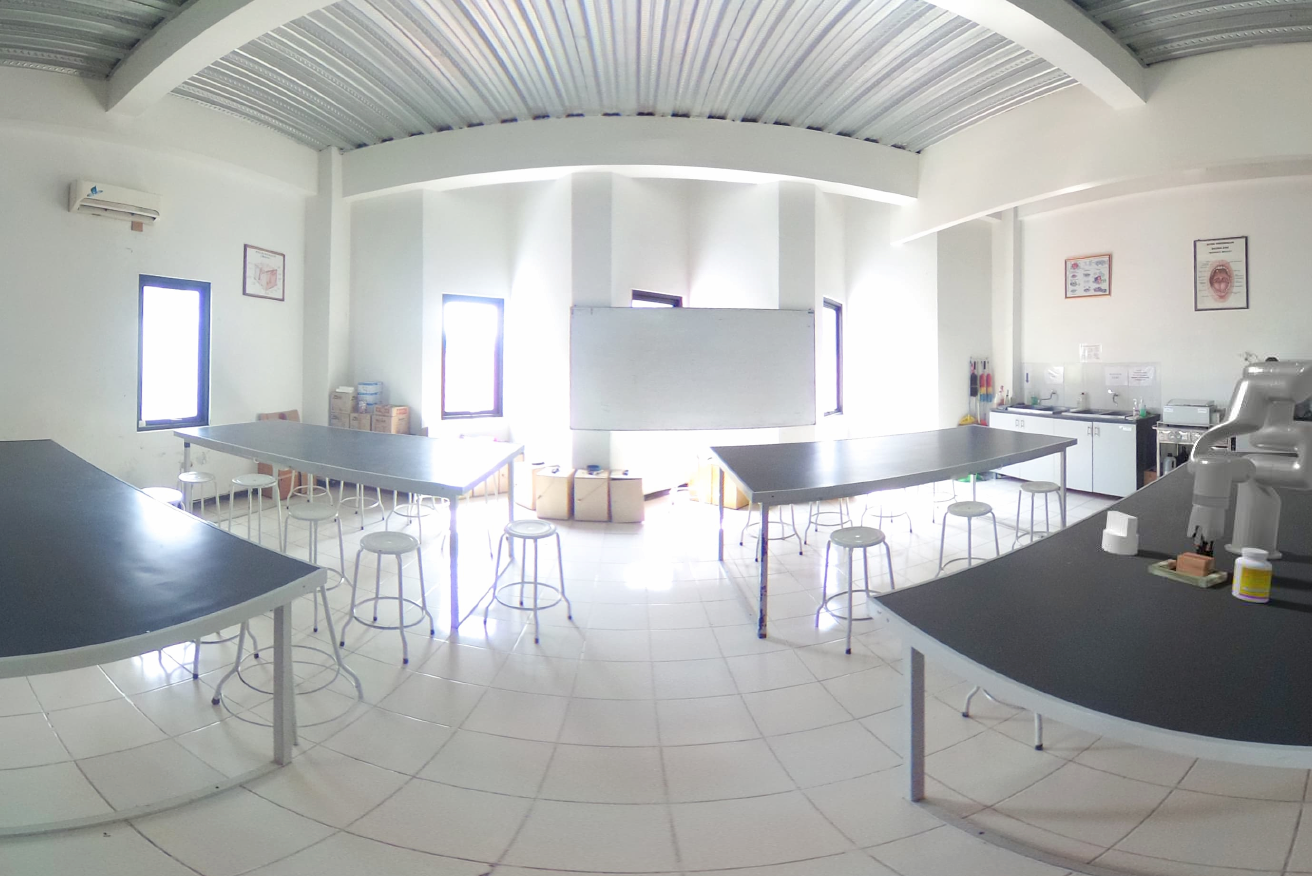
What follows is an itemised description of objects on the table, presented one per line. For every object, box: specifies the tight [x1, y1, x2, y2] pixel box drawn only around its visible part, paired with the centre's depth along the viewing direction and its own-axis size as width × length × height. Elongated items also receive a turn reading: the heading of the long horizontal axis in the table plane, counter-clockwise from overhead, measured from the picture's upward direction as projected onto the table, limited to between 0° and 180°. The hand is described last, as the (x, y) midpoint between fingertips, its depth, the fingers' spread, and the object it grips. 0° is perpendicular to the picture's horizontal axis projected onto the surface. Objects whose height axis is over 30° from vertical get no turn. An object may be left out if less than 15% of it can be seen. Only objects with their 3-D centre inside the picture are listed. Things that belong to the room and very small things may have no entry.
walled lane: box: [1147, 559, 1228, 588], centre depth 164 cm, size 12×13×2 cm
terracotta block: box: [1175, 552, 1215, 578], centre depth 166 cm, size 6×6×5 cm
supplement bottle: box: [1231, 548, 1273, 604], centre depth 148 cm, size 7×7×13 cm
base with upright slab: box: [1101, 510, 1140, 556], centre depth 186 cm, size 9×9×12 cm
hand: (1203, 562), depth 168 cm, fingers closed
